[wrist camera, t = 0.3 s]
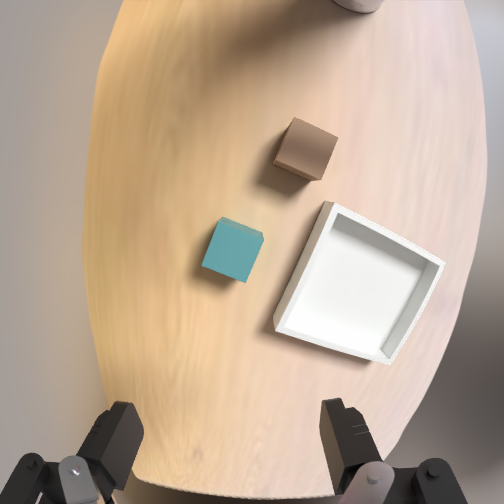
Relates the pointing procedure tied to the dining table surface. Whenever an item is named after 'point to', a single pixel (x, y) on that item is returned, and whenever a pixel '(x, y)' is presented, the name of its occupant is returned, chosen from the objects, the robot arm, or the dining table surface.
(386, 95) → the dining table surface
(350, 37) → the dining table surface
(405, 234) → the dining table surface
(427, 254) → the white tray
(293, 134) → the walnut block
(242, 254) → the teal block
